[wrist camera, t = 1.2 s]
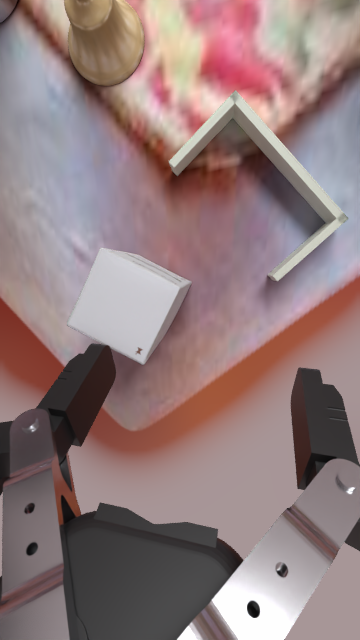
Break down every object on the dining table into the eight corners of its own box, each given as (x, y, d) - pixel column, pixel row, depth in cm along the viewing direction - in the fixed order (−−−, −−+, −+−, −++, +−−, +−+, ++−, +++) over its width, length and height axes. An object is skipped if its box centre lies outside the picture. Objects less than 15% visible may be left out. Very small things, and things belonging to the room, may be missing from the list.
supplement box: (193, 281, 36) (184, 288, 23) (165, 335, 37) (143, 369, 25) (138, 252, 36) (99, 244, 24) (112, 307, 37) (63, 327, 25)
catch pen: (272, 280, 35) (277, 281, 32) (172, 170, 34) (168, 161, 31) (336, 222, 33) (348, 218, 30) (233, 106, 32) (235, 90, 29)
